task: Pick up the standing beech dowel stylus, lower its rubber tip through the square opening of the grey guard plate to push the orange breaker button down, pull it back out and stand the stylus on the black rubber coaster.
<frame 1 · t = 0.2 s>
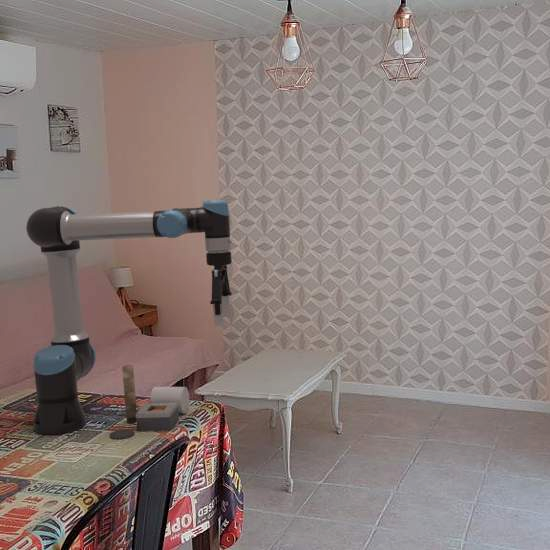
hand: (222, 321, 228), 28 cm above the table, fingers open, 13 cm apart
coaster: (122, 435, 213), on the table
stylus: (132, 421, 224), on the table
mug: (173, 411, 234), on the table
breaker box: (158, 425, 220), on the table
breaker button: (157, 414, 219), point 3 cm above the table, slide at 0.0 cm
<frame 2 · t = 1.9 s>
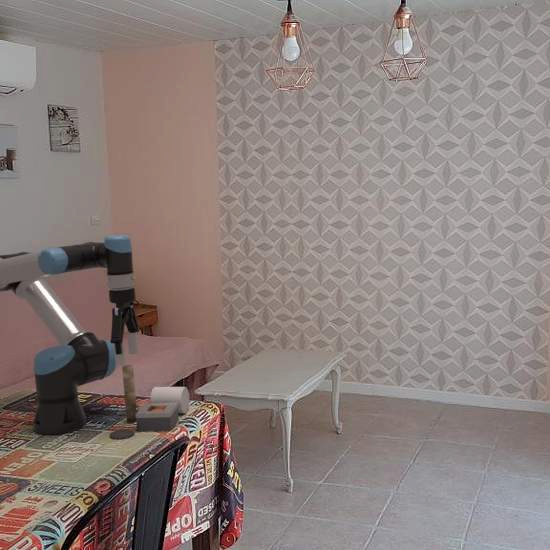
hand: (127, 359, 222), 19 cm above the table, fingers open, 13 cm apart
nothing on the table moved.
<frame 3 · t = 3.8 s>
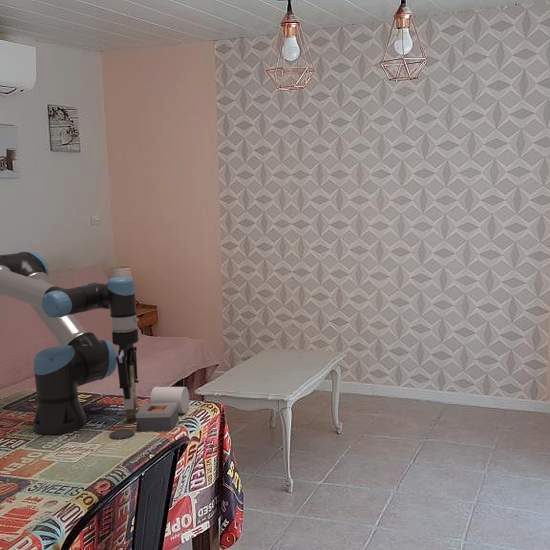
hand: (130, 406, 224), 5 cm above the table, fingers closed on stylus, 3 cm apart
stylus: (132, 421, 224), on the table, touching gripper
everything else where it was.
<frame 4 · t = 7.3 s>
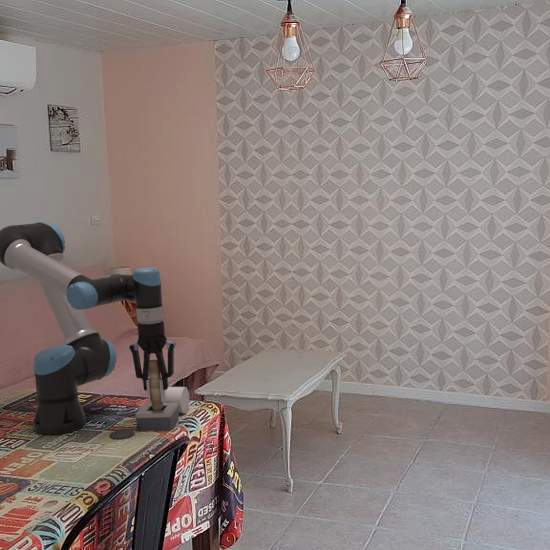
hand: (157, 400, 219), 8 cm above the table, fingers closed on stylus, 3 cm apart
stylus: (158, 417, 219), point 2 cm above the table, touching breaker button, gripper
breaker button: (158, 421, 220), point 1 cm above the table, slide at 2.1 cm, touching stylus
everything else where it was.
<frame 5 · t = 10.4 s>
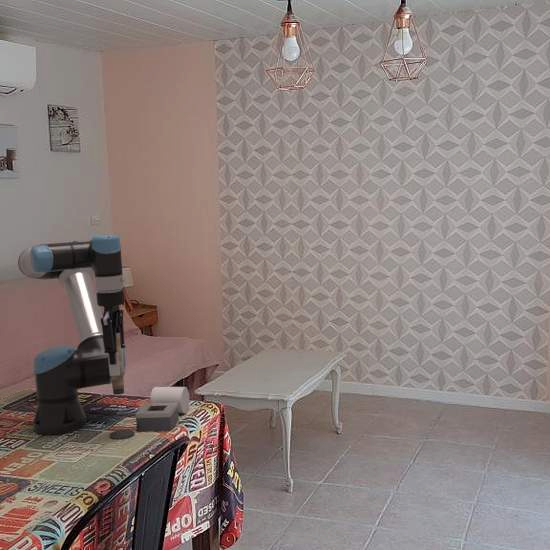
hand: (117, 373, 210), 18 cm above the table, fingers closed on stylus, 3 cm apart
stylus: (118, 393, 211), point 12 cm above the table, touching gripper
breaker button: (158, 421, 220), point 1 cm above the table, slide at 2.1 cm
everything else where it was.
when the fingers open (6 cm above the table, at t = 12.6 s): stylus stays where it is, resting on coaster.
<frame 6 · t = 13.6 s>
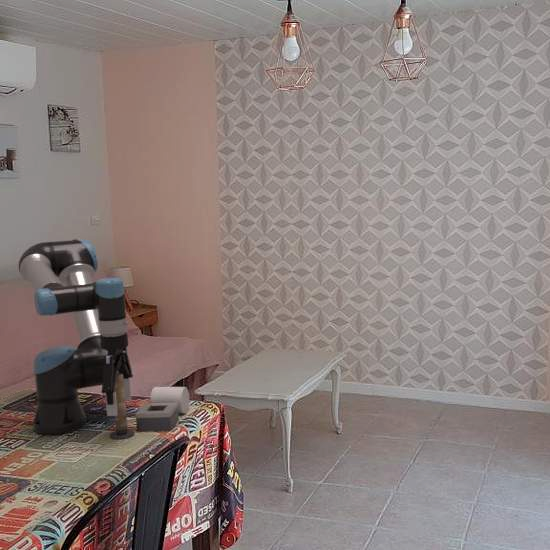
hand: (119, 407, 212), 8 cm above the table, fingers open, 13 cm apart
stylus: (122, 433, 212), point 1 cm above the table, touching coaster
everything else where it was.
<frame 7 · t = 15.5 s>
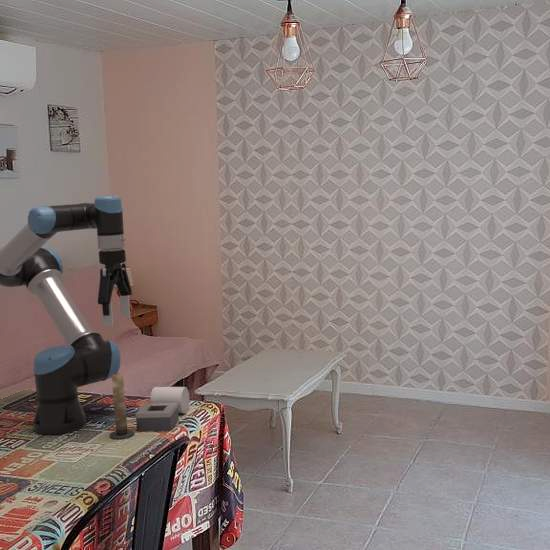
hand: (117, 321, 220), 31 cm above the table, fingers open, 13 cm apart
nothing on the table moved.
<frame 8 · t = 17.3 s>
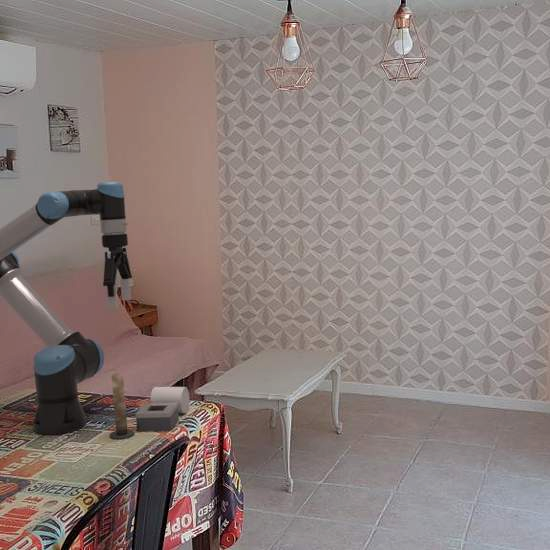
hand: (119, 303, 227), 35 cm above the table, fingers open, 13 cm apart
nothing on the table moved.
at the end: breaker button slide at 2.1 cm; stylus 0.1 cm from the coaster (horizontally); the gripper is holding nothing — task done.
